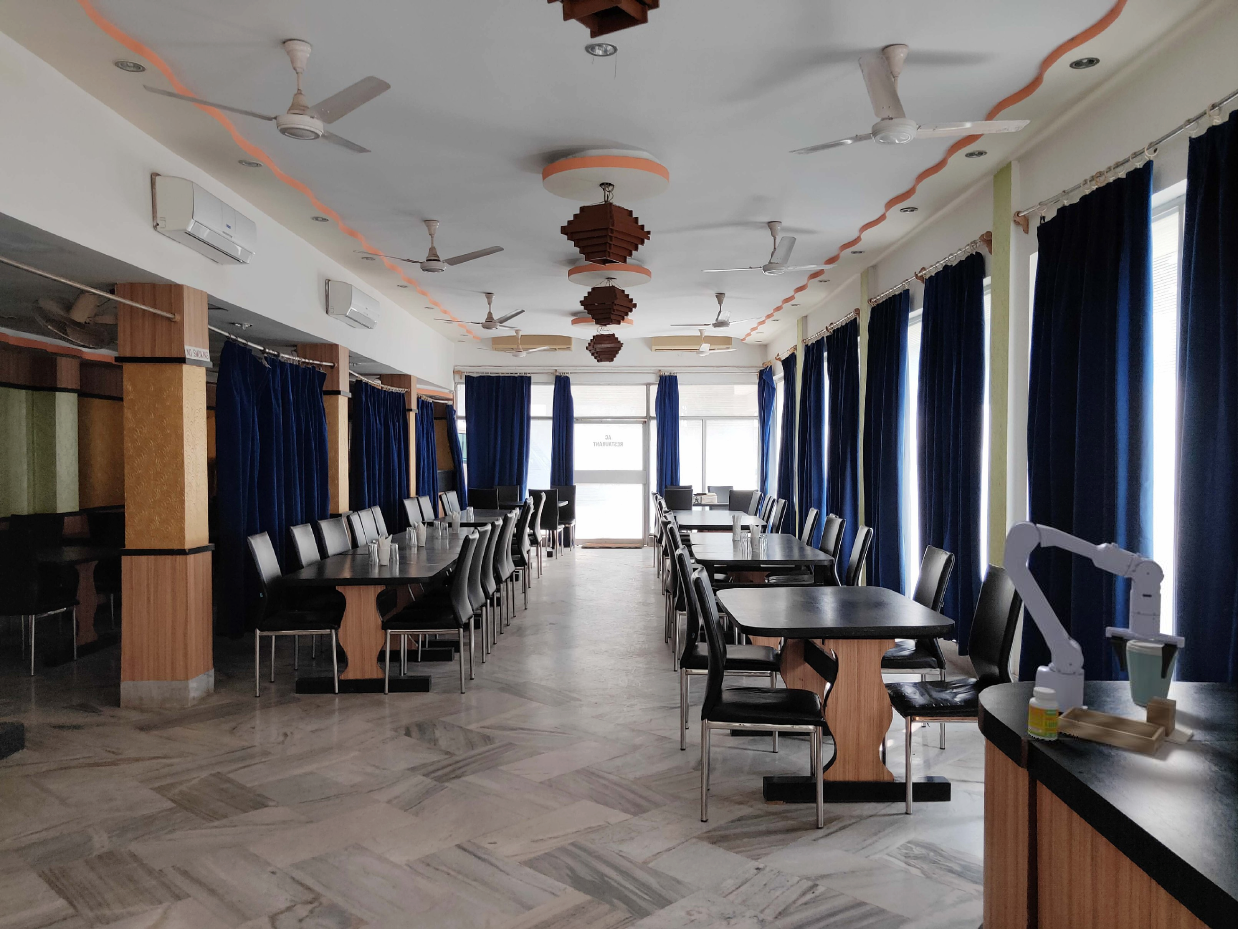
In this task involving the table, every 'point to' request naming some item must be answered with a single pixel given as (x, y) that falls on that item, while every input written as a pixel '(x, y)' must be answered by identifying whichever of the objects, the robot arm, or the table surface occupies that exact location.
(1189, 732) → the pad
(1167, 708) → the block
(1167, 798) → the table surface
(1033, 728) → the supplement bottle
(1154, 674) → the disposable coffee cup
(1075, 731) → the frame
